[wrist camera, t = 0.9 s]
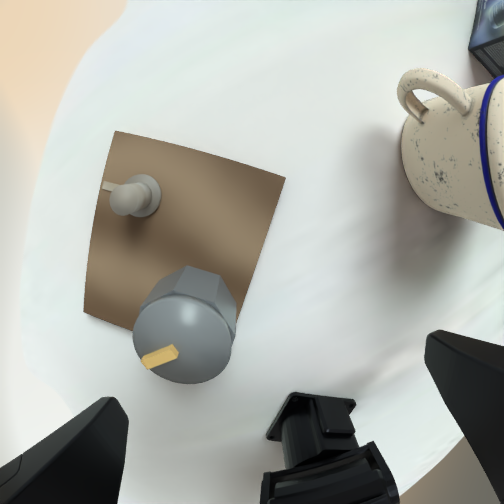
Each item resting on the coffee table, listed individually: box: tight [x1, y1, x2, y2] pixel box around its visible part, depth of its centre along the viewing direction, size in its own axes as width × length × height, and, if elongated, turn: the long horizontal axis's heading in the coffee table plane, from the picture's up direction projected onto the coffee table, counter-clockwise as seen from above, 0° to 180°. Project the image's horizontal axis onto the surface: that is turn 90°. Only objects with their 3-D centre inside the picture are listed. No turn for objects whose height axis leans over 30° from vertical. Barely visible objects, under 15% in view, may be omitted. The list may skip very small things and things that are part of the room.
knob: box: [133, 265, 237, 384], centre depth 16 cm, size 5×5×5 cm
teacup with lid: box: [397, 68, 504, 231], centre depth 11 cm, size 12×9×12 cm
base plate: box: [83, 131, 286, 331], centre depth 17 cm, size 13×11×4 cm
